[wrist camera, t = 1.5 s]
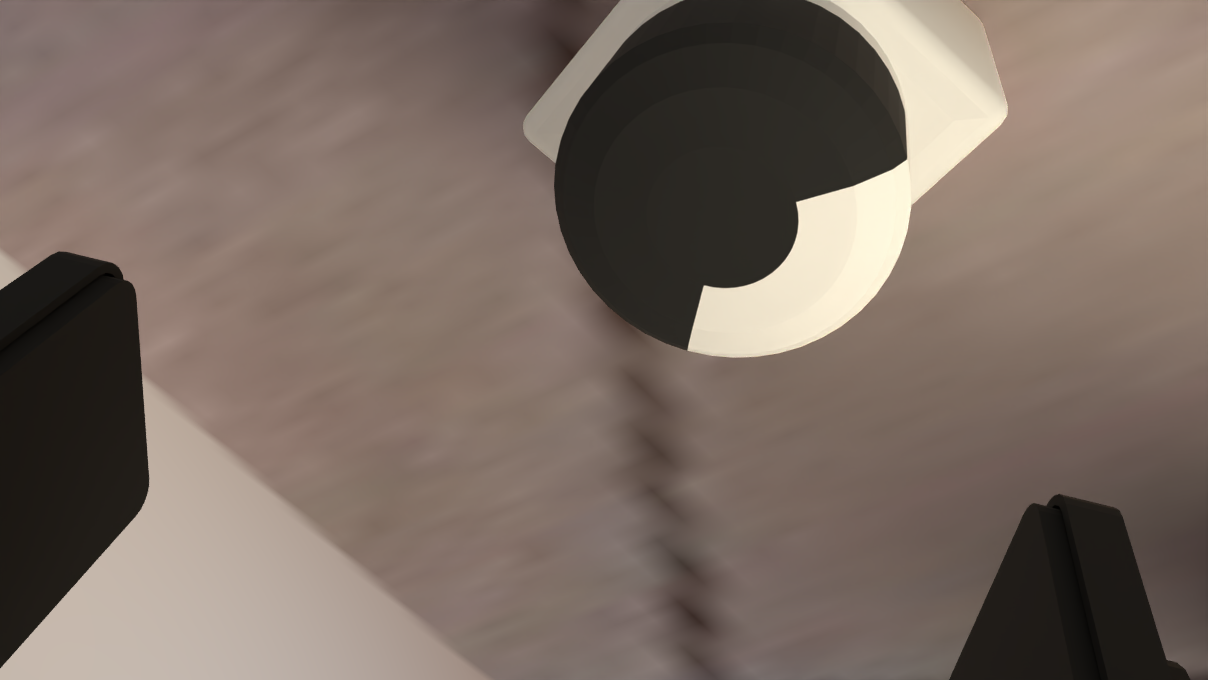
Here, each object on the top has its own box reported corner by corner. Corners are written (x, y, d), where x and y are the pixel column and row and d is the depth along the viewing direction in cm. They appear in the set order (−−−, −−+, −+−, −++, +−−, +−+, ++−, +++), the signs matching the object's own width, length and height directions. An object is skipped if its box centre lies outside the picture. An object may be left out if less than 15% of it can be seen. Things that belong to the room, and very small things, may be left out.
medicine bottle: (587, 46, 30) (432, 223, 20) (773, -181, 26) (702, -109, 16) (786, 221, 31) (737, 474, 21) (988, 25, 28) (1050, 214, 17)
